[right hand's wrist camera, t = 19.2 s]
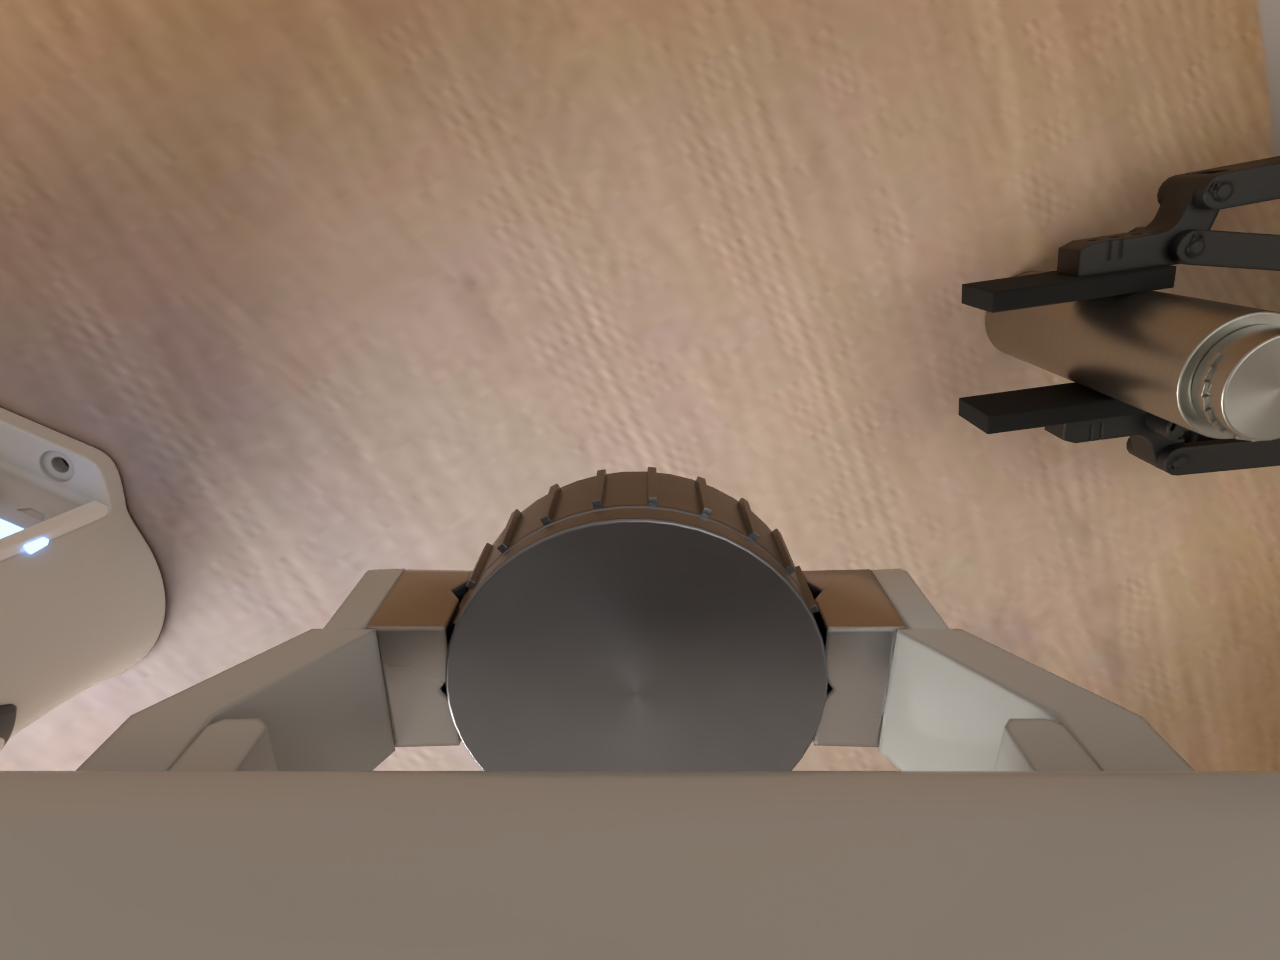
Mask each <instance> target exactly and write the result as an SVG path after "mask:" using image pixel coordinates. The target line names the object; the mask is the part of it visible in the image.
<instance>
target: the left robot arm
mask: <svg viewBox="0 0 1280 960" xmlns="http://www.w3.org/2000/svg"><path fill="white" fill-rule="evenodd" d="M1157 197H1158V202H1159V204H1160V205H1161V206H1160V208H1159V210H1158V212H1157V214H1156V216H1155V218H1154V220H1153V221H1152V222H1151V223H1150V224H1149V225H1148V226H1147V227H1138V228H1135V229H1133V230H1131V231H1130V232H1129V233H1123V234H1116V235H1109V236H1102V237H1096V238H1089V239H1082V240H1075V241H1071V242H1070V243H1068V244H1066V245H1064V246H1062V247H1060V248H1059V254H1058V267H1057V271H1052V272H1045V273H1038V274H1031V275H1024V276H1017V277H1010V278H1003V279H996V280H989V281H982V282H975V283H968V284H962V303H963V304H966V305H969V306H972V307H976V308H979V309H982V310H985V311H988V312H992V313H995V312H1002V311H1010V310H1017V309H1024V308H1031V307H1038V306H1045V305H1052V304H1059V303H1066V302H1073V301H1081V300H1088V299H1095V298H1102V297H1109V296H1116V295H1123V294H1130V293H1137V292H1143V291H1152V290H1159V289H1166V288H1173V287H1174V280H1175V272H1176V266H1170V265H1175V264H1187V265H1201V266H1216V267H1231V268H1246V269H1260V270H1275V271H1280V235H1271V234H1256V233H1241V232H1227V231H1212V230H1210V229H1211V227H1212V225H1213V222H1214V220H1215V218H1216V216H1217V214H1218V212H1219V210H1220V209H1225V208H1230V207H1236V206H1241V205H1247V204H1252V203H1258V202H1263V201H1269V200H1274V199H1280V156H1277V157H1272V158H1267V159H1261V160H1256V161H1250V162H1245V163H1240V164H1234V165H1229V166H1223V167H1218V168H1213V169H1207V170H1202V171H1196V172H1191V173H1185V174H1180V175H1175V176H1172V177H1170V178H1168V179H1167V180H1166V181H1164V182H1163V183H1162V185H1161V186H1160V188H1159V191H1158V195H1157ZM959 415H960V416H961V417H963V418H964V419H966V420H967V421H969V422H970V423H972V424H973V425H975V426H976V427H978V428H979V429H981V430H982V431H984V432H985V433H987V434H992V433H1000V432H1007V431H1015V430H1022V429H1030V428H1037V427H1045V430H1046V431H1048V432H1050V433H1052V434H1053V435H1055V436H1057V437H1059V438H1061V439H1062V440H1065V441H1069V442H1073V443H1079V442H1087V441H1095V440H1099V439H1101V440H1102V439H1110V438H1118V437H1125V436H1130V438H1129V439H1128V441H1127V450H1128V452H1129V453H1131V454H1132V455H1134V456H1136V457H1138V458H1140V459H1142V460H1144V461H1146V462H1148V463H1150V464H1151V465H1153V466H1155V467H1157V468H1159V469H1161V470H1164V471H1165V472H1167V473H1169V474H1171V475H1186V474H1196V473H1206V472H1217V471H1227V470H1237V469H1248V468H1258V467H1269V466H1279V465H1280V438H1278V439H1274V440H1270V441H1269V440H1266V441H1255V442H1252V441H1247V440H1238V439H1235V438H1232V439H1217V438H1211V437H1207V436H1204V435H1201V434H1199V433H1197V432H1194V431H1192V430H1189V429H1187V428H1184V427H1182V426H1180V425H1177V424H1175V423H1172V422H1170V421H1168V420H1165V419H1163V418H1160V417H1158V416H1156V415H1153V414H1151V413H1148V412H1146V411H1144V410H1141V409H1139V408H1136V407H1134V406H1132V405H1129V404H1127V403H1124V402H1122V401H1119V400H1117V399H1115V398H1112V397H1110V396H1107V395H1105V394H1103V393H1100V392H1098V391H1095V390H1093V389H1091V388H1088V387H1086V386H1083V385H1081V384H1079V383H1076V382H1075V383H1067V384H1060V385H1052V386H1045V387H1038V388H1030V389H1023V390H1016V391H1008V392H1001V393H993V394H986V395H979V396H971V397H964V398H959Z"/></svg>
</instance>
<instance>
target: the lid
mask: <svg viewBox="0 0 1280 960" xmlns="http://www.w3.org/2000/svg"><path fill="white" fill-rule="evenodd" d="M466 586H467V587H468V588H469V590H468V592H465V594H464V596H463V598H462V600H461V602H460V604H459V607H460V610H459V612H458V615H457V617H456V619H455V621H454V630H453V633H452V635H451V638H450V641H449V647H448V652H447V658H446V672H445V684H446V692H447V699H448V705H449V708H450V712H451V715H452V718H453V722H454V725H455V727H456V729H457V731H458V733H459V735H460V738H461V740H462V742H463V744H464V745H465V747H466V748H467V750H468V751H469V753H470V754H471V756H472V758H473V759H474V761H475V762H476V763H477V764H478V765H479V766H480V768H481V769H482V770H483V771H792V769H793V768H794V767H795V766H796V764H797V763H798V762H799V761H800V760H801V758H802V757H803V755H804V753H805V752H806V750H807V749H808V747H809V745H810V744H811V742H812V740H813V738H814V736H815V733H816V731H817V729H818V726H819V724H820V722H821V718H822V714H823V710H824V707H825V703H826V697H827V687H828V667H827V656H826V652H825V647H824V643H823V638H822V635H821V633H820V630H819V628H818V625H817V623H816V620H815V618H814V615H813V614H814V613H817V612H819V610H818V607H817V605H816V602H815V600H814V598H813V596H812V593H811V591H810V589H809V587H808V584H807V582H806V580H805V577H804V575H803V573H802V571H801V568H800V566H797V567H795V566H794V563H793V561H792V559H791V556H790V554H789V552H788V549H787V547H786V545H785V542H784V540H783V537H782V535H781V533H780V532H779V531H778V529H775V530H774V531H771V530H770V529H769V528H768V526H767V525H766V524H765V523H764V522H763V521H761V520H760V519H759V518H758V517H757V516H756V515H755V514H754V513H753V512H752V511H751V509H750V506H749V503H748V501H746V500H745V499H743V498H741V499H740V500H739V502H738V501H737V500H735V499H734V498H732V497H730V496H728V495H727V494H725V493H723V492H721V491H719V490H717V489H715V488H713V487H710V486H708V485H706V481H705V479H704V478H701V477H697V479H696V481H695V480H692V479H687V478H683V477H679V476H675V475H671V474H663V473H656V468H654V467H648V472H619V473H611V474H606V470H605V469H604V470H598V471H597V476H594V477H591V478H587V479H583V480H579V481H576V482H574V483H571V484H569V485H566V486H564V487H561V488H560V487H559V485H558V484H555V485H553V486H551V487H550V490H549V493H548V495H546V496H544V497H542V498H540V499H539V500H537V501H536V502H534V503H533V504H532V505H530V506H529V507H528V508H526V509H525V510H524V511H522V512H520V511H519V510H518V509H516V510H515V511H514V512H513V513H512V514H511V516H510V519H509V521H508V523H507V526H506V528H505V529H504V530H503V532H502V533H501V534H500V536H499V537H498V538H497V540H496V541H495V542H494V544H493V545H491V544H489V543H487V544H486V545H485V547H484V549H483V551H482V553H481V555H480V557H479V559H478V562H477V564H476V566H475V568H474V570H473V572H472V574H471V576H470V578H469V581H468V583H467V585H466Z"/></svg>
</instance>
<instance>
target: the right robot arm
mask: <svg viewBox="0 0 1280 960" xmlns="http://www.w3.org/2000/svg"><path fill="white" fill-rule="evenodd" d="M62 458H63V459H65V460H66V461H67V463H68V464H69V466H67V465H66V464H65V463H64V462H63V459H62ZM472 572H473V571H456V570H405V569H380V570H369V571H367V572H366V573H365V574H364V576H363V577H362V578H361V580H360V581H359V582H358V584H357V585H356V586H355V588H354V589H353V590H352V592H351V593H350V594H349V596H348V597H347V598H346V600H345V601H344V602H343V604H342V605H341V606H340V608H339V609H338V610H337V612H336V613H335V614H334V615H333V617H332V618H331V619H330V621H329V622H328V623H327V625H326V626H325V627H324V629H311V630H309V631H307V632H305V633H303V634H301V635H299V636H297V637H294V638H292V639H290V640H288V641H286V642H284V643H282V644H280V645H278V646H276V647H274V648H271V649H269V650H267V651H265V652H263V653H261V654H259V655H257V656H255V657H253V658H251V659H248V660H246V661H244V662H242V663H240V664H238V665H236V666H234V667H232V668H230V669H228V670H225V671H223V672H221V673H219V674H217V675H215V676H213V677H211V678H209V679H207V680H205V681H202V682H200V683H198V684H196V685H194V686H192V687H190V688H188V689H186V690H184V691H182V692H179V693H177V694H175V695H173V696H171V697H169V698H167V699H165V700H163V701H161V702H159V703H156V704H154V705H152V706H150V707H148V708H146V709H144V710H142V711H140V712H138V713H136V714H133V715H131V716H130V717H129V718H128V719H127V720H126V721H125V722H124V723H123V724H122V725H121V726H120V727H119V728H118V729H117V730H116V731H115V732H114V733H113V734H112V735H111V736H110V737H109V738H108V739H107V740H106V741H105V742H104V743H103V744H102V745H101V746H100V747H99V748H98V749H97V750H96V751H95V752H94V753H93V754H92V755H91V756H90V757H89V758H88V759H87V760H86V761H85V762H84V763H83V764H82V765H81V766H80V767H79V768H78V769H77V770H76V771H0V960H1280V771H1194V770H1193V769H1192V767H1191V766H1190V765H1189V764H1188V763H1187V762H1186V761H1185V760H1184V759H1183V758H1182V757H1181V756H1180V755H1179V754H1178V753H1177V752H1176V751H1175V750H1174V749H1173V748H1172V747H1171V746H1170V745H1169V744H1168V743H1167V742H1166V741H1165V740H1164V739H1163V738H1162V737H1161V736H1160V735H1159V734H1158V733H1157V732H1156V731H1155V730H1154V729H1153V728H1152V727H1151V726H1150V725H1149V724H1148V722H1147V721H1146V720H1145V719H1144V718H1143V717H1141V716H1139V715H1137V714H1135V713H1133V712H1131V711H1129V710H1127V709H1125V708H1123V707H1121V706H1119V705H1117V704H1114V703H1112V702H1110V701H1108V700H1106V699H1104V698H1102V697H1100V696H1098V695H1096V694H1094V693H1092V692H1090V691H1088V690H1086V689H1083V688H1081V687H1079V686H1077V685H1075V684H1073V683H1071V682H1069V681H1067V680H1065V679H1063V678H1061V677H1059V676H1057V675H1055V674H1053V673H1050V672H1048V671H1046V670H1044V669H1042V668H1040V667H1038V666H1036V665H1034V664H1032V663H1030V662H1028V661H1026V660H1024V659H1022V658H1019V657H1017V656H1015V655H1013V654H1011V653H1009V652H1007V651H1005V650H1003V649H1001V648H999V647H997V646H995V645H993V644H991V643H989V642H986V641H984V640H982V639H980V638H978V637H976V636H974V635H972V634H970V633H968V632H966V631H964V630H962V629H949V627H948V626H947V625H946V623H945V622H944V621H943V619H942V618H941V617H940V615H939V614H938V613H937V611H936V610H935V609H934V607H933V606H932V605H931V603H930V602H929V601H928V599H927V598H926V597H925V595H924V594H923V593H922V591H921V590H920V589H919V587H918V586H917V584H916V583H915V582H914V580H913V579H912V578H911V576H910V575H909V574H908V572H907V571H905V570H902V569H882V570H870V569H867V570H825V571H802V573H803V575H804V577H805V580H806V582H807V584H808V587H809V589H810V591H811V593H812V596H813V598H814V600H815V602H816V605H817V607H818V610H819V612H817V613H814V614H813V615H814V618H815V620H816V623H817V625H818V628H819V630H820V633H821V635H822V638H823V643H824V647H825V652H826V656H827V667H828V687H827V697H826V703H825V707H824V710H823V714H822V718H821V722H820V724H819V726H818V729H817V731H816V733H815V736H814V738H813V743H814V745H822V746H859V747H879V748H878V750H879V751H880V752H881V753H882V754H883V755H885V756H886V757H887V758H888V759H889V760H890V761H891V762H892V763H893V764H895V765H896V766H897V767H898V768H899V769H900V770H901V771H372V770H373V769H375V768H376V767H377V766H378V765H379V764H380V763H381V762H382V761H384V760H385V759H386V758H387V757H388V756H389V755H390V754H391V753H393V752H394V751H395V747H414V746H450V745H459V744H460V742H461V738H460V735H459V733H458V731H457V729H456V727H455V725H454V722H453V718H452V715H451V712H450V708H449V705H448V699H447V692H446V684H445V672H446V658H447V652H448V647H449V641H450V638H451V635H452V633H453V630H454V621H455V619H456V617H457V615H458V612H459V610H460V607H459V604H460V602H461V600H462V598H463V596H464V594H465V592H468V590H469V588H468V587H467V586H466V585H467V583H468V581H469V578H470V576H471V574H472ZM165 606H166V601H165V590H164V584H163V580H162V576H161V573H160V570H159V567H158V565H157V562H156V560H155V558H154V556H153V553H152V551H151V550H150V548H149V546H148V544H147V543H146V541H145V540H144V538H143V536H142V535H141V533H140V532H139V530H138V529H137V527H136V526H135V524H134V522H133V521H132V519H131V517H130V515H129V513H128V511H127V508H126V502H125V496H124V491H123V486H122V482H121V478H120V475H119V472H118V470H117V467H116V465H115V464H114V462H113V461H112V459H111V458H110V457H109V456H108V455H106V454H105V453H104V452H102V451H100V450H99V449H96V448H94V447H92V446H90V445H87V444H85V443H83V442H80V441H78V440H76V439H73V438H71V437H69V436H66V435H64V434H62V433H59V432H57V431H55V430H52V429H50V428H48V427H45V426H43V425H41V424H38V423H36V422H34V421H31V420H29V419H27V418H24V417H22V416H20V415H17V414H15V413H13V412H10V411H8V410H6V409H3V408H1V407H0V751H1V750H2V748H3V747H4V746H5V744H6V743H7V741H8V739H10V738H11V737H13V736H14V735H15V734H17V733H18V732H20V731H21V730H23V729H24V728H25V727H27V726H28V725H30V724H31V723H33V722H35V721H36V720H38V719H39V718H41V717H42V716H44V715H45V714H47V713H48V712H50V711H51V710H53V709H54V708H56V707H58V706H59V705H61V704H62V703H64V702H66V701H67V700H69V699H71V698H72V697H74V696H76V695H77V694H79V693H81V692H83V691H85V690H86V689H88V688H90V687H92V686H94V685H96V684H98V683H100V682H102V681H104V680H106V679H108V678H111V677H113V676H115V675H118V674H120V673H122V672H124V671H126V670H128V669H130V668H131V667H133V666H134V665H136V664H137V663H138V662H139V661H141V660H142V659H143V658H144V657H145V656H146V655H147V654H148V652H149V651H150V650H151V649H152V647H153V646H154V644H155V642H156V641H157V639H158V637H159V635H160V632H161V629H162V626H163V622H164V617H165Z"/></svg>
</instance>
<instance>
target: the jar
mask: <svg viewBox="0 0 1280 960" xmlns="http://www.w3.org/2000/svg"><path fill="white" fill-rule="evenodd" d="M1038 273H1045V272H1040V271H1033V272H1026V273H1023V274H1020V275H1018V276H1024V275H1031V274H1038ZM1015 277H1017V276H1015ZM985 325H986V331H987V334H988V337H989V339H990V341H991V342H992V343H993V345H994V346H995V347H996V348H998V349H999V350H1000V351H1002V352H1004V353H1006V354H1009V355H1011V356H1014V357H1016V358H1018V359H1021V360H1023V361H1026V362H1028V363H1030V364H1033V365H1035V366H1038V367H1040V368H1042V369H1045V370H1047V371H1050V372H1052V373H1054V374H1057V375H1059V376H1062V377H1064V378H1067V379H1069V380H1071V381H1074V382H1076V383H1079V384H1081V385H1083V386H1086V387H1088V388H1091V389H1093V390H1095V391H1098V392H1100V393H1103V394H1105V395H1107V396H1110V397H1112V398H1115V399H1117V400H1119V401H1122V402H1124V403H1127V404H1129V405H1132V406H1134V407H1136V408H1139V409H1141V410H1144V411H1146V412H1148V413H1151V414H1153V415H1156V416H1158V417H1160V418H1163V419H1165V420H1168V421H1170V422H1172V423H1175V424H1177V425H1180V426H1182V427H1184V428H1187V429H1189V430H1192V431H1194V432H1197V433H1199V434H1201V435H1204V436H1207V437H1211V438H1217V439H1232V438H1235V439H1238V440H1247V441H1252V442H1255V441H1266V440H1269V441H1270V440H1274V439H1278V438H1280V313H1278V312H1273V311H1267V310H1262V309H1256V308H1250V307H1244V306H1238V305H1233V304H1227V303H1221V302H1215V301H1209V300H1204V299H1198V298H1192V297H1186V296H1180V295H1175V294H1169V293H1163V292H1157V291H1143V292H1137V293H1130V294H1123V295H1116V296H1109V297H1102V298H1095V299H1088V300H1081V301H1073V302H1066V303H1059V304H1052V305H1045V306H1038V307H1031V308H1024V309H1017V310H1010V311H1002V312H995V313H992V312H988V311H987V312H986V319H985Z"/></svg>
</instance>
